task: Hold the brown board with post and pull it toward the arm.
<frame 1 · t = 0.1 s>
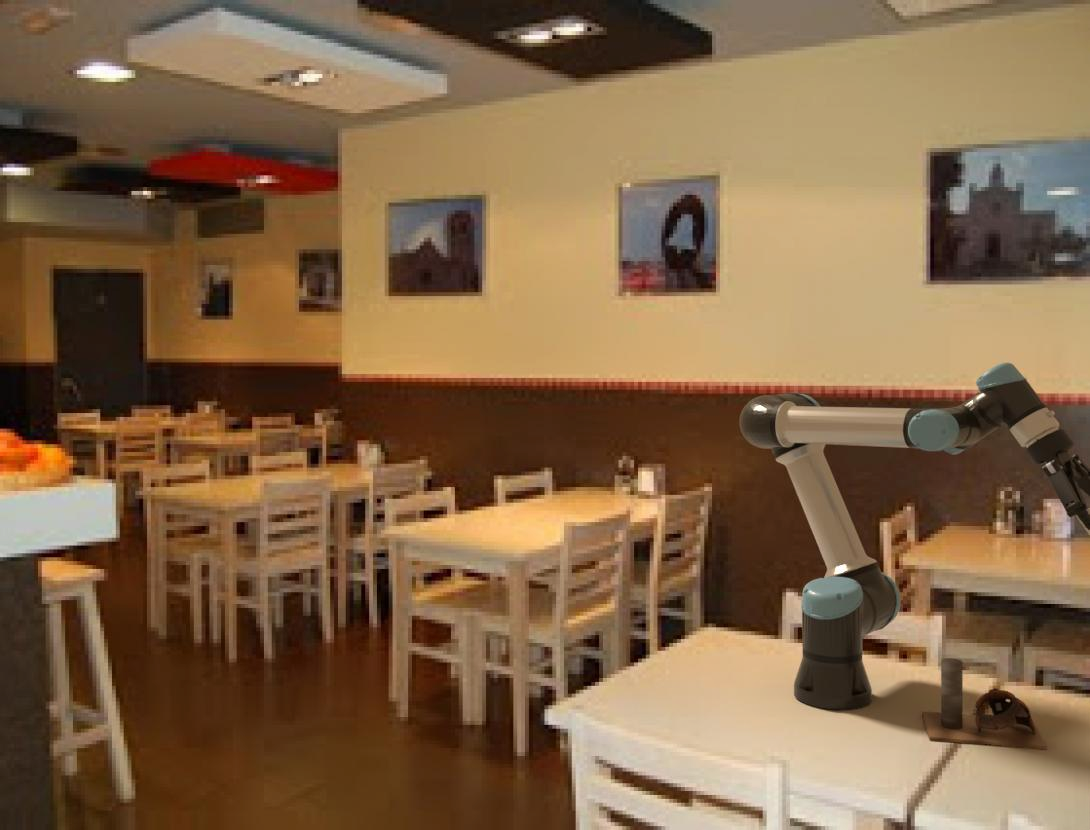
brown board with post: (981, 697, 176), point 6 cm above the table, slide at 0.6 cm, touching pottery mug
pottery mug: (1003, 730, 175), resting on brown board with post
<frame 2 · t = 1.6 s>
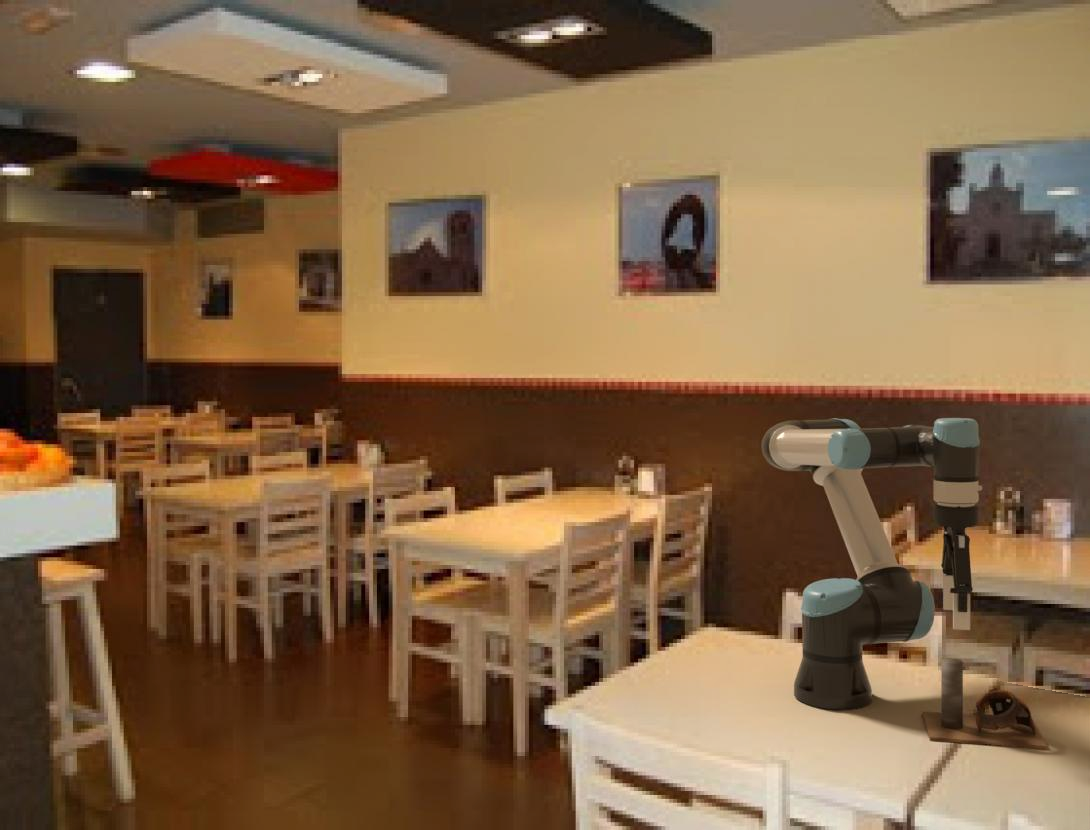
hand: (956, 619, 176), 21 cm above the table, tool pointing down, fingers open, 13 cm apart
nothing on the table moved.
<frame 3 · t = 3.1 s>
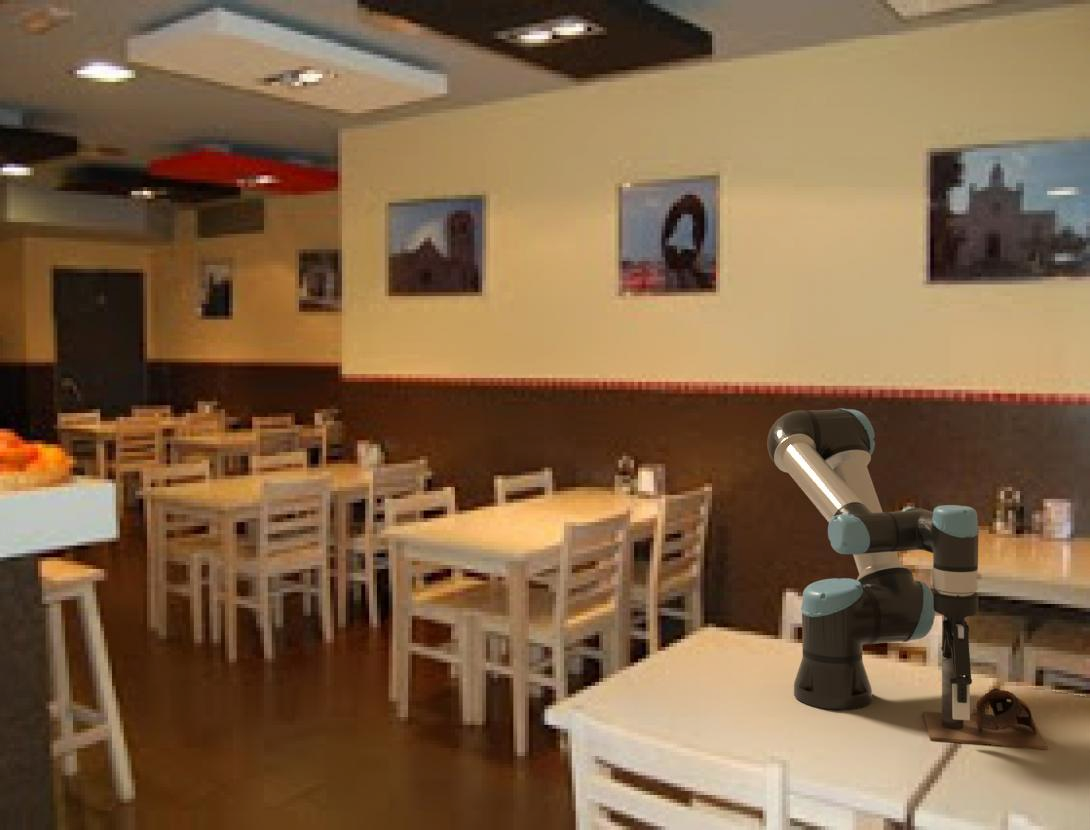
hand: (955, 706, 177), 4 cm above the table, tool pointing down, fingers open, 13 cm apart
nothing on the table moved.
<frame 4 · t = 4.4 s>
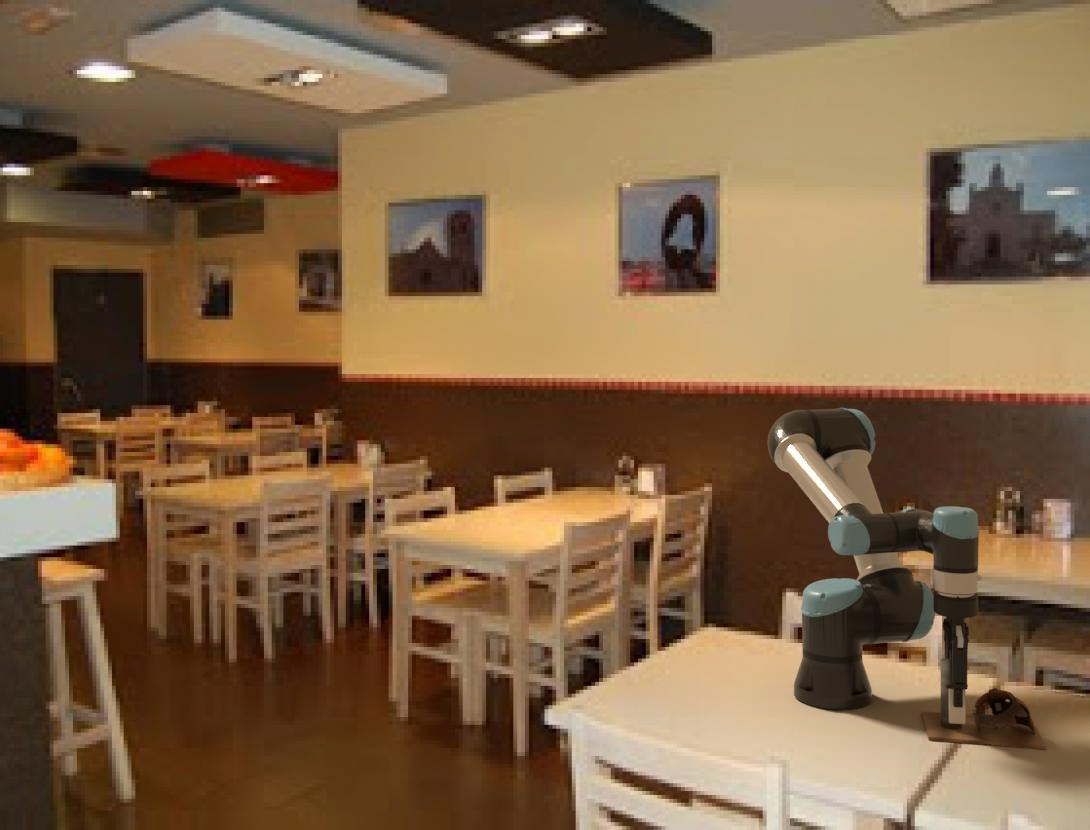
hand: (955, 718, 177), 2 cm above the table, tool pointing down, fingers closed on brown board with post, 4 cm apart
brown board with post: (980, 697, 176), point 6 cm above the table, slide at 0.7 cm, touching gripper, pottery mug
everything else where it was.
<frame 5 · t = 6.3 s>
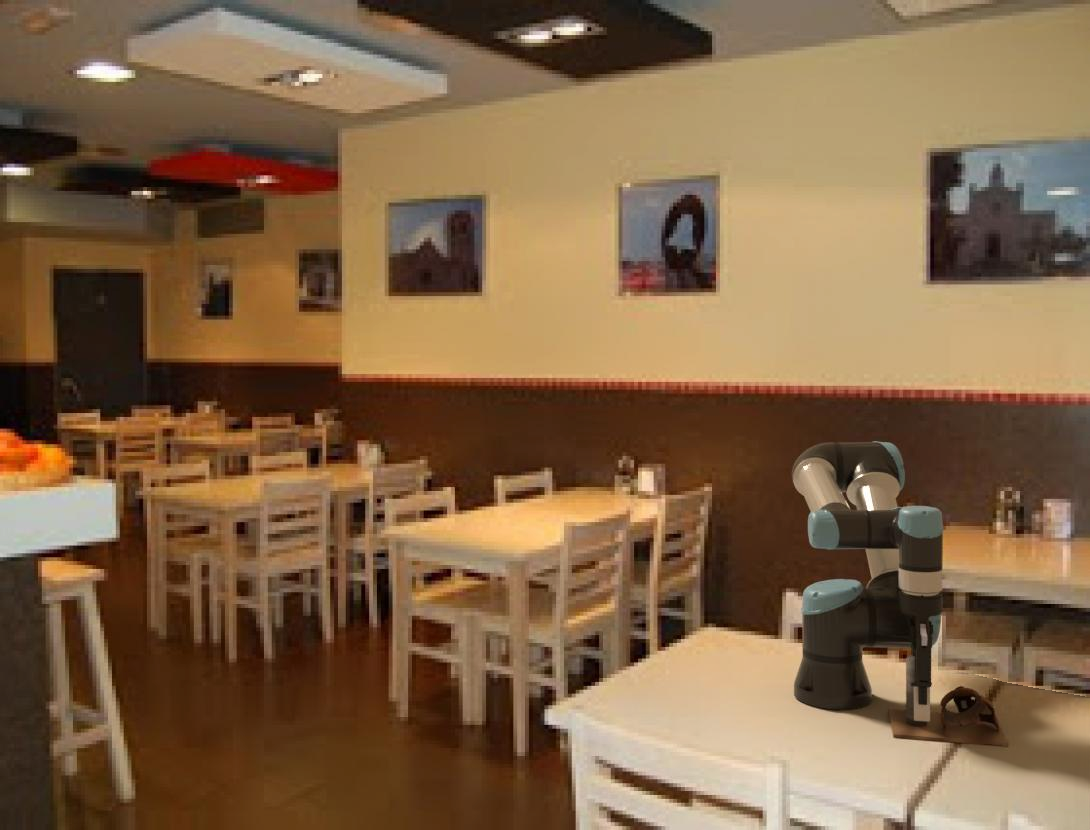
hand: (920, 715, 179), 2 cm above the table, tool pointing down, fingers closed on brown board with post, 4 cm apart
brown board with post: (945, 694, 178), point 6 cm above the table, slide at 6.7 cm, touching gripper, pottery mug
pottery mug: (968, 728, 177), resting on brown board with post
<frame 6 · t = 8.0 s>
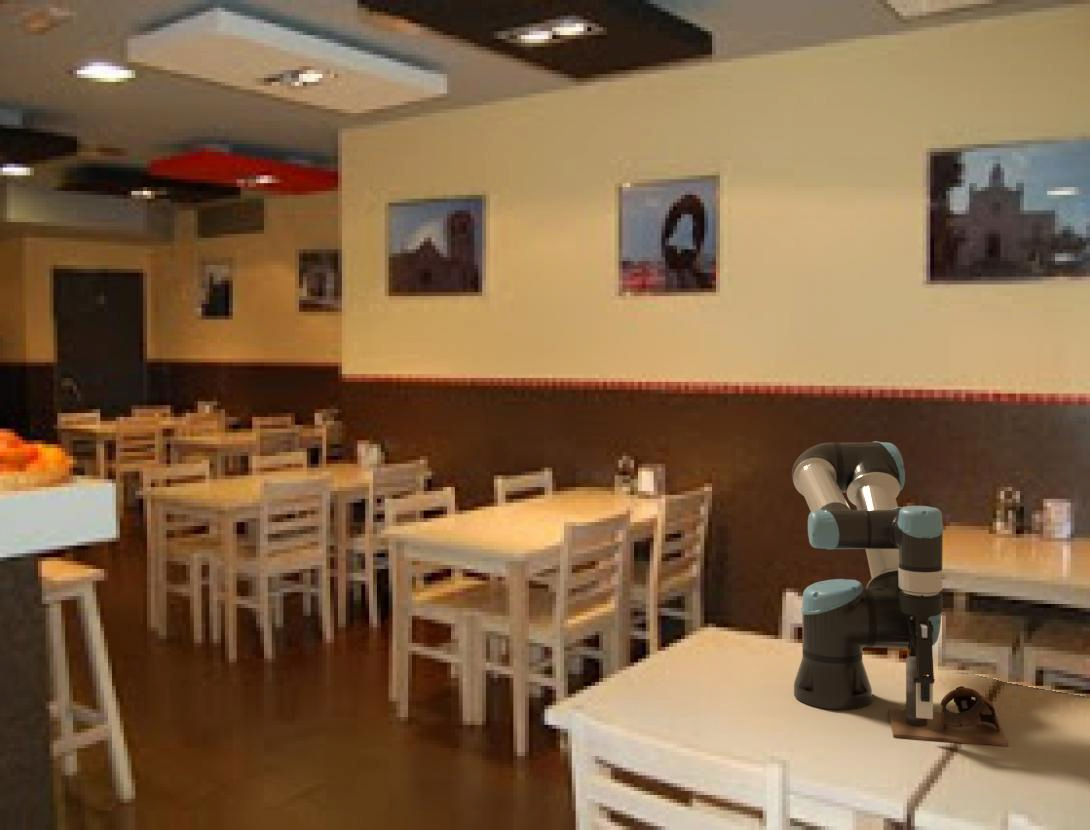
hand: (920, 704, 179), 4 cm above the table, tool pointing down, fingers open, 13 cm apart
brown board with post: (945, 694, 178), point 6 cm above the table, slide at 6.7 cm, touching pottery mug
everything else where it was.
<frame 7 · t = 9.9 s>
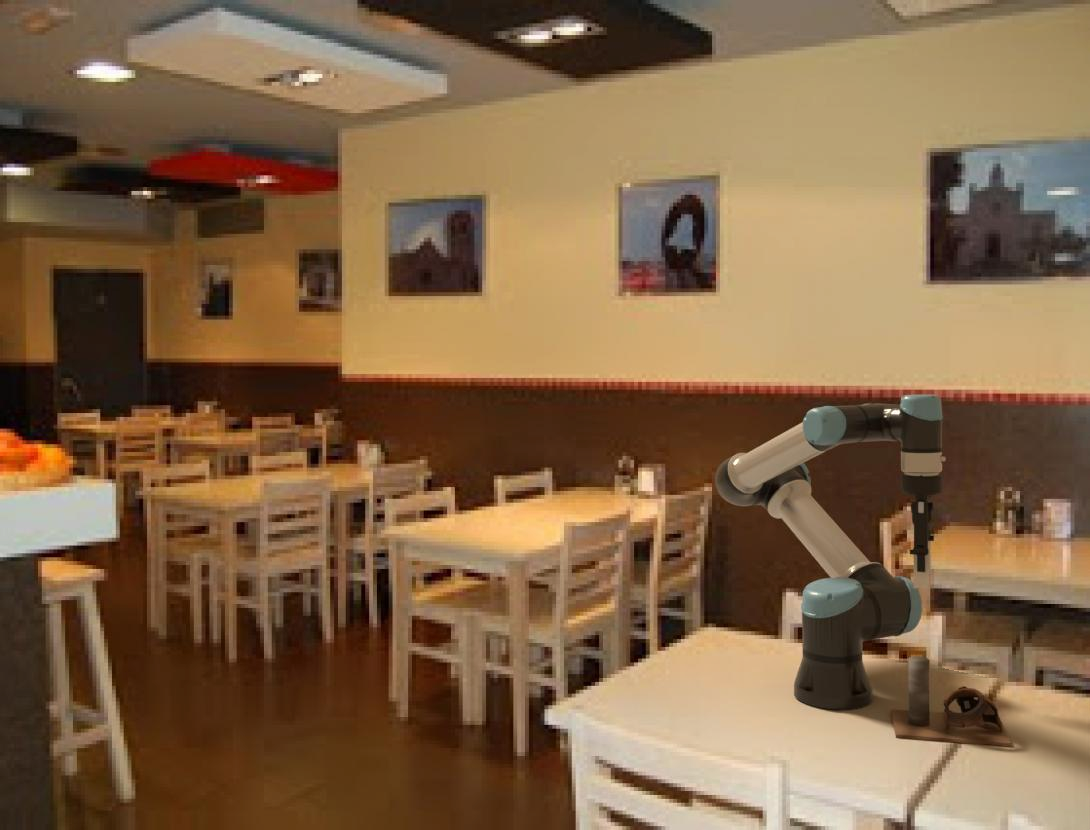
hand: (922, 580, 190), 24 cm above the table, tool pointing down, fingers open, 13 cm apart
brown board with post: (948, 694, 177), point 6 cm above the table, slide at 6.3 cm, touching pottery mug
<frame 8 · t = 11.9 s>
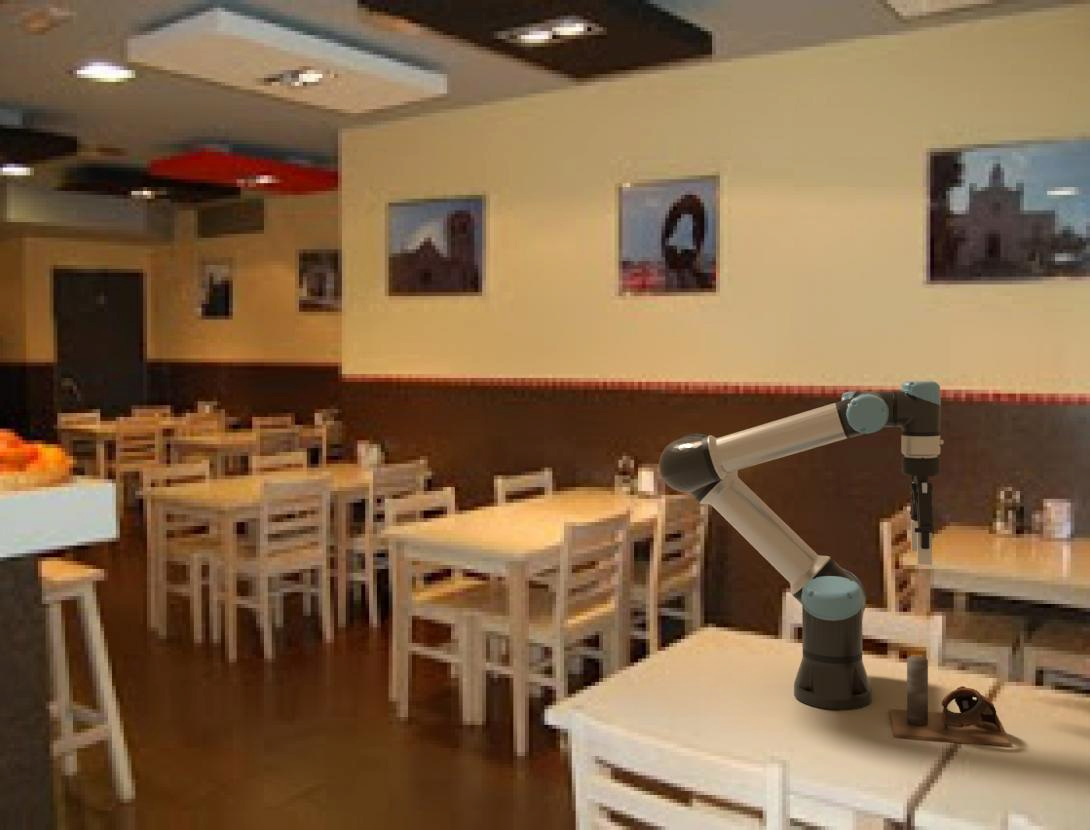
hand: (921, 557, 201), 27 cm above the table, tool pointing down, fingers open, 13 cm apart
nothing on the table moved.
at the end: brown board with post slide at 6.5 cm; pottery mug moved 6.6 cm from its start; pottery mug tilted 0° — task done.
